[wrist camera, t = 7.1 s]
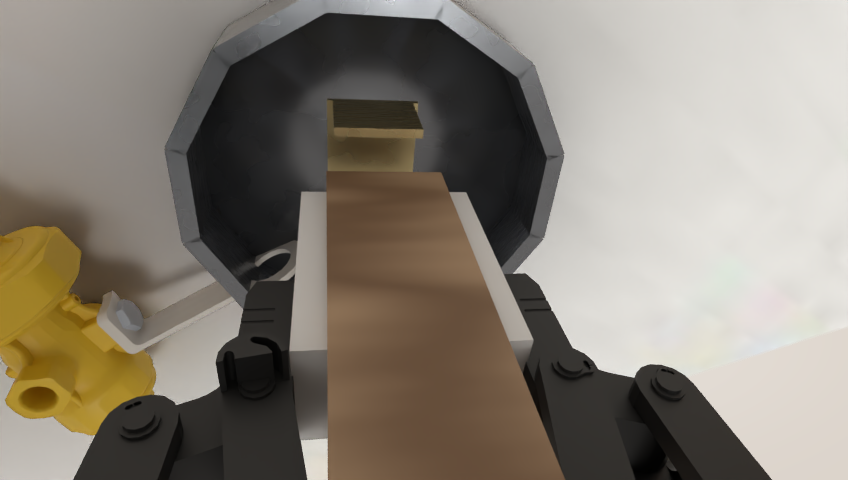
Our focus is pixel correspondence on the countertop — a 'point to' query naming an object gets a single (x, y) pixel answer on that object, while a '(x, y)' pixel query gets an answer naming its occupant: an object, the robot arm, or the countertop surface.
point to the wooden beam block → (418, 343)
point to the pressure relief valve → (83, 331)
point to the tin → (357, 125)
